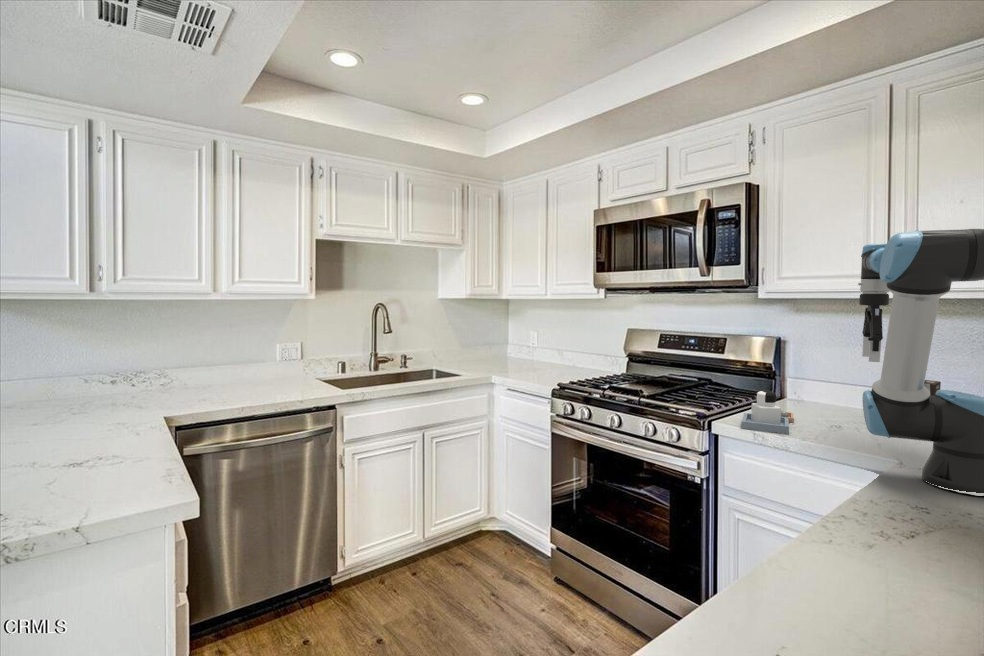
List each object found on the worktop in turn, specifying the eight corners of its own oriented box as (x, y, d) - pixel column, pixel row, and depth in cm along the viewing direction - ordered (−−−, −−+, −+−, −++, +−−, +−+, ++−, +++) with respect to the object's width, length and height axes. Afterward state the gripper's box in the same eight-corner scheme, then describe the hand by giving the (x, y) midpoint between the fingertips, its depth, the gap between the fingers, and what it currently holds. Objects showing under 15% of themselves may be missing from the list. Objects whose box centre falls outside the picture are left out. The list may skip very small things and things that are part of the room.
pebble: (788, 420, 187) (788, 412, 186) (778, 419, 188) (779, 411, 188) (788, 418, 189) (788, 411, 189) (778, 417, 191) (779, 410, 191)
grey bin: (788, 434, 171) (789, 426, 171) (741, 428, 178) (741, 421, 178) (788, 424, 184) (788, 417, 183) (743, 419, 191) (744, 412, 190)
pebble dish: (793, 423, 184) (793, 418, 184) (762, 420, 189) (762, 415, 189) (792, 417, 193) (793, 412, 193) (763, 414, 198) (763, 409, 198)
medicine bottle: (770, 422, 184) (772, 390, 183) (780, 427, 177) (782, 394, 176) (750, 422, 185) (751, 389, 184) (759, 427, 177) (760, 393, 176)
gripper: (854, 292, 173) (851, 354, 175) (865, 293, 151) (861, 363, 153) (882, 292, 169) (878, 355, 171) (897, 293, 148) (893, 365, 149)
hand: (870, 359), depth 162 cm, fingers open, 13 cm apart
